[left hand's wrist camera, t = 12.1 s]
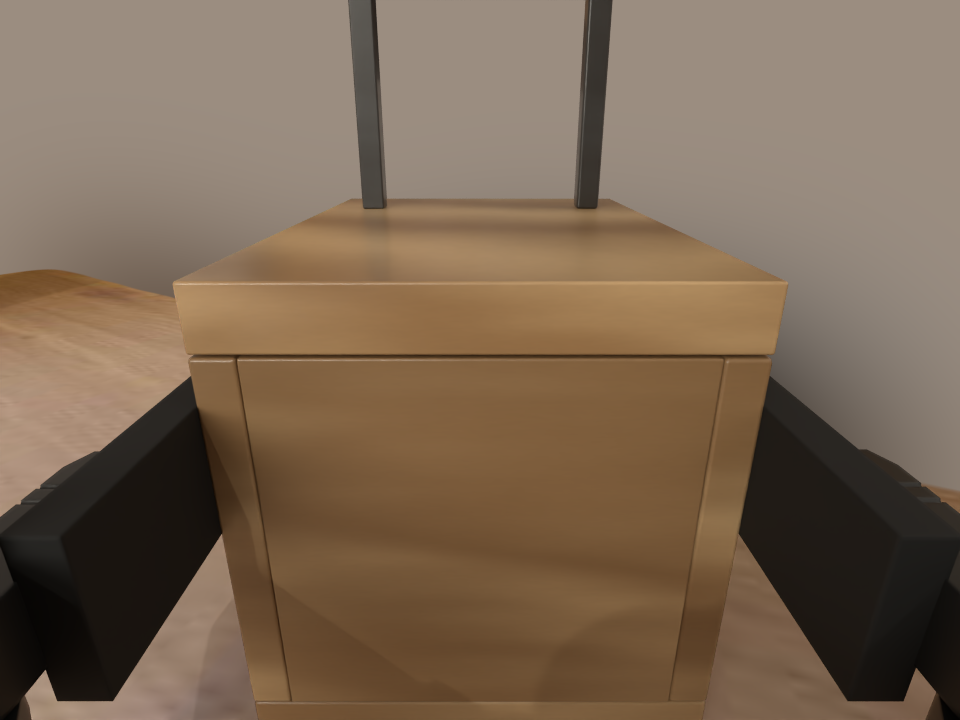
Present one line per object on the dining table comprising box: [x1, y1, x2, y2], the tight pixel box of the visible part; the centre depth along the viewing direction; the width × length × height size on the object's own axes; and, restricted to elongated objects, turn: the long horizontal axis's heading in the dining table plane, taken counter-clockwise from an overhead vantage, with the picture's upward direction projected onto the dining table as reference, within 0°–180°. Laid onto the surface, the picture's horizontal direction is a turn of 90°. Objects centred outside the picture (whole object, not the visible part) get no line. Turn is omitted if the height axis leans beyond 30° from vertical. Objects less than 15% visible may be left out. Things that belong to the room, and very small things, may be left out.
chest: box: [188, 355, 772, 720], centre depth 17 cm, size 13×10×9 cm
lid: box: [173, 0, 788, 355], centre depth 14 cm, size 14×10×9 cm
